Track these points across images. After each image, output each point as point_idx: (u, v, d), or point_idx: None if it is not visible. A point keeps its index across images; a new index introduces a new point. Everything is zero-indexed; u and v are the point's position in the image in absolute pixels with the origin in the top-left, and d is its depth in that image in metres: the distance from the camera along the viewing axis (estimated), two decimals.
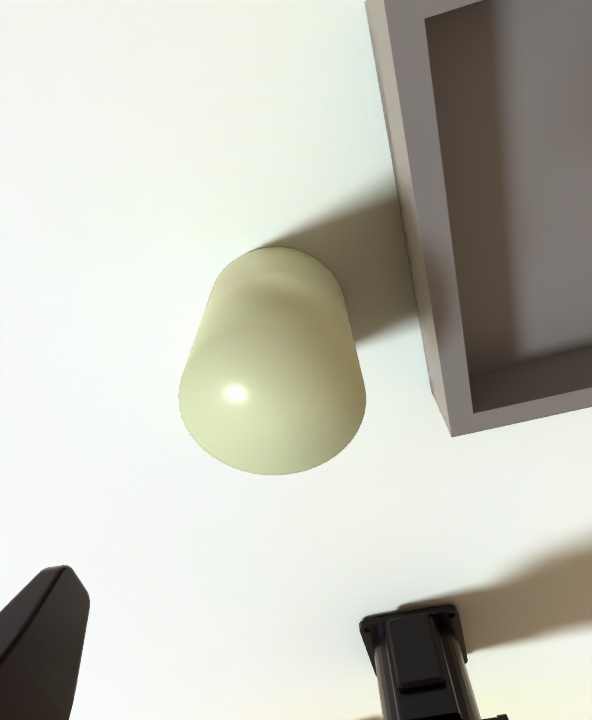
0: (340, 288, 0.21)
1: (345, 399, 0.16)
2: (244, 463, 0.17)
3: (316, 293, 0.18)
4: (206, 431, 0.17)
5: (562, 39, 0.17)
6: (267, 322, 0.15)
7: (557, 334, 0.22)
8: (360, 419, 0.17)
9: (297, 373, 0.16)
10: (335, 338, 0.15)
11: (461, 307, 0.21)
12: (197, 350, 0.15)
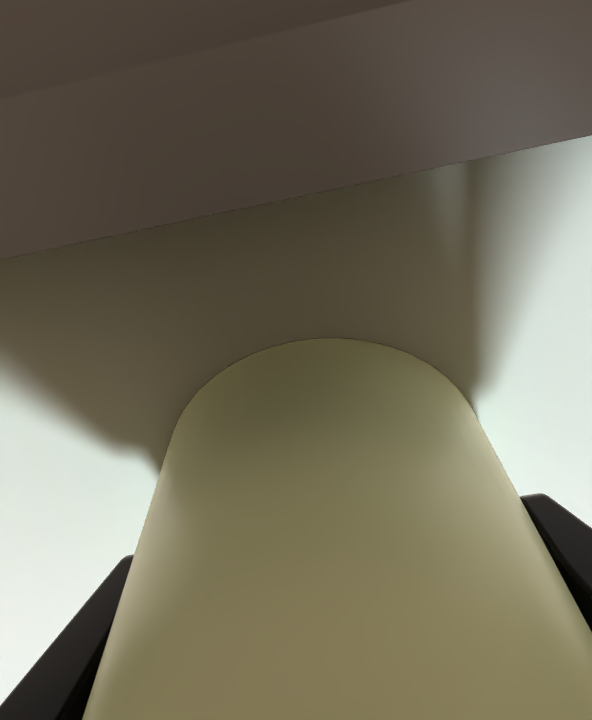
0: (267, 354, 0.08)
1: None
2: None
3: (120, 622, 0.05)
4: None
5: None
6: None
7: None
8: None
9: None
10: None
11: None
12: None
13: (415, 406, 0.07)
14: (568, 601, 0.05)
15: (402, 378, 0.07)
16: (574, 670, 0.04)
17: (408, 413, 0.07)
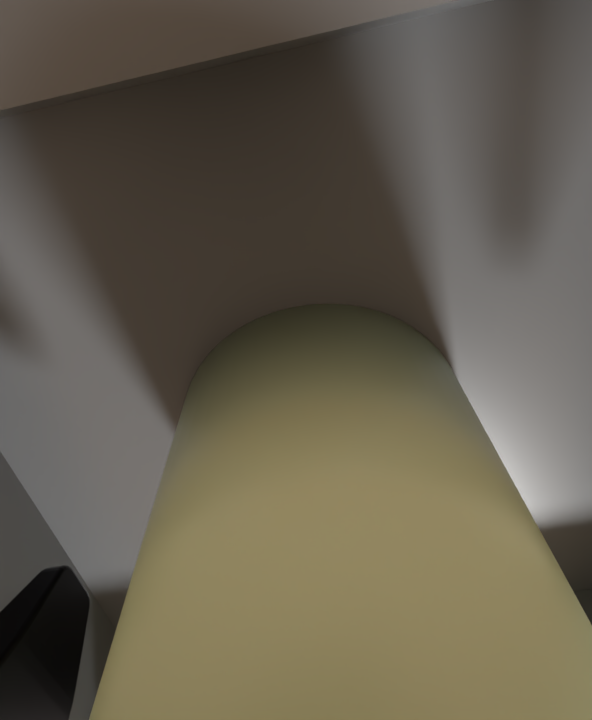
0: (271, 317, 0.09)
1: None
2: None
3: (155, 521, 0.07)
4: None
5: (125, 530, 0.12)
6: None
7: None
8: None
9: None
10: None
11: None
12: None
13: (398, 356, 0.08)
14: (518, 500, 0.06)
15: (388, 335, 0.09)
16: (514, 535, 0.05)
17: (391, 360, 0.08)
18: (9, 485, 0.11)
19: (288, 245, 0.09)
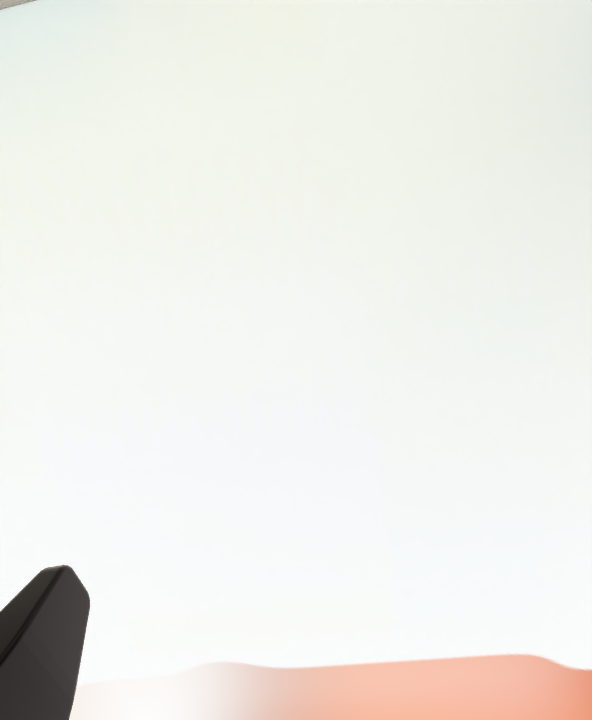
0: None
1: None
2: None
3: None
4: None
5: None
6: None
7: None
8: None
9: None
10: None
11: None
12: None
13: None
14: None
15: None
16: None
17: None
18: None
19: None
